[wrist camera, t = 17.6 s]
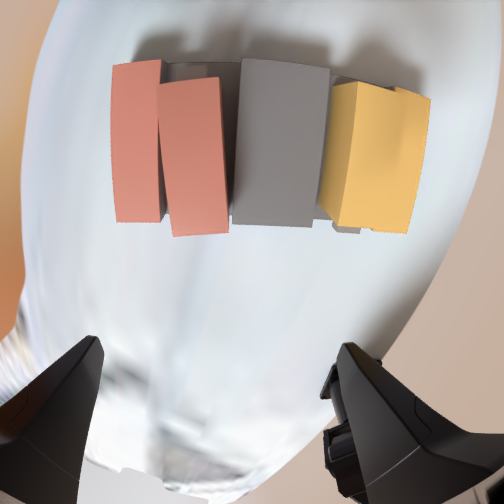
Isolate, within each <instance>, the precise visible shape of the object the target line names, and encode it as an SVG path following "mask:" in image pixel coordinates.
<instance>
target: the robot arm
mask: <svg viewBox="0 0 504 504" xmlns="http://www.w3.org/2000/svg"><path fill="white" fill-rule="evenodd" d="M103 361H104V350H103V348H102V345H101V343H100V340H99V338H98V337H97V336H91V335H88V336H86V337H85V338H84V339H82V340H81V341H80V342H79V343H77V344H76V345H75V346H74V347H72V348H71V349H70V350H69V351H67V352H66V353H65V354H64V355H63V356H61V357H60V358H59V359H58V360H57V361H55V362H54V363H53V364H52V365H51V366H49V367H48V368H47V369H46V370H45V371H43V372H42V373H41V374H40V375H39V376H37V377H36V378H35V379H34V380H33V381H32V382H30V383H29V384H28V386H26V387H24V388H23V389H22V390H21V391H20V392H19V393H17V394H16V395H15V396H14V397H13V398H11V399H10V400H9V401H7V402H6V403H5V404H3V405H2V406H0V504H77V495H78V488H79V480H80V473H81V467H82V461H83V456H84V450H85V445H86V440H87V436H88V431H89V427H90V422H91V418H92V414H93V410H94V406H95V402H96V398H97V394H98V390H99V384H100V378H101V372H102V366H103ZM320 399H332V403H333V406H334V409H335V413H336V416H337V420H338V423H339V425H338V426H335V427H333V428H331V429H326V430H324V431H323V432H324V437H323V440H324V454H325V467H326V469H328V470H329V471H330V473H331V475H332V476H333V477H334V478H336V481H337V486H338V491H339V492H340V493H341V494H342V495H343V496H344V497H345V498H348V497H350V498H351V499H353V500H354V501H355V502H357V503H358V504H504V434H485V433H470V432H467V431H465V430H463V429H461V428H459V427H458V426H456V425H455V424H454V423H452V422H451V421H449V420H448V419H446V418H445V417H443V416H442V415H440V414H439V413H437V412H436V411H434V410H433V409H432V408H431V407H429V406H428V405H427V404H426V403H424V402H423V401H422V400H421V399H420V398H418V397H417V396H415V394H414V393H412V392H411V391H410V390H409V389H408V388H407V387H405V386H404V385H403V384H402V383H401V382H400V381H398V380H397V379H396V378H395V377H394V376H393V375H391V374H390V373H389V372H388V371H387V370H385V369H384V368H383V367H382V361H381V360H374V359H373V358H371V357H370V356H369V355H368V354H367V353H366V352H364V351H363V350H362V349H361V348H360V347H359V346H357V345H356V344H355V343H353V342H347V343H343V344H342V346H341V348H340V351H339V353H338V356H337V365H336V366H333V367H332V368H331V371H330V373H329V375H328V378H327V380H326V382H325V385H324V387H323V389H322V392H321V394H320Z"/></svg>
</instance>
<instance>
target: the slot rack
mask: <svg viewBox="0 0 504 504" xmlns="http://www.w3.org/2000/svg"><path fill="white" fill-rule="evenodd" d="M197 65H206V66H207V68H208V78H212V77H219V79H220V82H221V84H222V96H223V115H224V133H225V150H226V166H227V181H228V196H229V215H232V224H240V225H267V226H290V227H310V228H312V223H313V219H323V220H332V219H331V218H330V216H329V215H328V214H327V213H326V212H325V211H324V210H323V208H322V207H321V206H320V205H319V204H318V200H319V193H320V186H321V180H322V172H323V165H324V158H325V150H326V142H327V133H328V124H329V115H330V105H331V95H332V87H333V86H337V85H342V84H346V83H351V82H356V81H359V80H355V79H351V78H347V77H342V76H338V75H333V74H330V69H328V68H322V67H317V66H311V65H305V64H299V63H292V62H284V61H275V60H265V59H253V58H242V61H241V63H232V62H188V63H169V64H167V63H166V62H164V61H163V60H162V59H157V60H147V61H139V62H131V63H124V64H118V65H113V71H112V86H111V163H112V180H113V192H114V203H115V213H116V221H117V222H149V223H160V222H161V220H162V219H163V217H164V215H165V214H169V208H168V201H167V194H166V187H165V179H164V171H163V163H162V154H161V144H160V134H159V122H158V110H157V94H156V85H158V84H164V83H171V82H176V71H175V68H182V67H189V66H197ZM359 82H363V81H359ZM363 83H367V82H363ZM367 84H370V85H374V84H371V83H367ZM374 86H377V87H381V86H378V85H374ZM381 88H384V89H387V90H391V91H394V92H397V93H400V94H403V95H406V100H405V111H404V119H403V128H402V135H401V142H400V149H399V155H398V161H397V167H396V172H395V177H394V183H393V188H392V192H391V197H390V202H389V206H388V210H387V215H386V219H385V223H384V227H383V229H371V228H370V229H371V230H372V231H377V232H391V233H404V234H407V231H408V227H409V223H410V219H411V215H412V211H413V207H414V203H415V199H416V194H417V190H418V185H419V180H420V175H421V170H422V164H423V158H424V152H425V146H426V139H427V131H428V123H429V114H430V103H431V99H429V98H427V97H424V96H422V95H419V94H416V93H414V92H411V91H408V90H405V89H402V88H399V87H396V86H394V87H381Z"/></svg>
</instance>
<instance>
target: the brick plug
mask: <svg viewBox="0 0 504 504" xmlns="http://www.w3.org/2000/svg"><path fill="white" fill-rule="evenodd" d="M175 71H176V82H171V83H164V84H158V85H156V94H157V110H158V122H159V134H160V144H161V154H162V163H163V171H164V179H165V187H166V194H167V201H168V208H169V215H170V221H171V227H172V234H173V237H177V236H191V235H205V234H219V233H229V196H228V181H227V166H226V150H225V133H224V115H223V96H222V84H221V82H220V79H219V77H212V78H208V68H207V66H206V65H197V66H189V67H182V68H175Z"/></svg>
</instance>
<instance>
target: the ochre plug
mask: <svg viewBox="0 0 504 504" xmlns="http://www.w3.org/2000/svg"><path fill="white" fill-rule="evenodd" d="M405 100H406V95H403V94H400V93H397V92H394V91H391V90H387V89H384V88H381V87H377V86H374V85H370V84H367V83H363V82H359V81H356V82H351V83H346V84H342V85H337V86H333V87H332V95H331V105H330V115H329V124H328V133H327V142H326V150H325V158H324V165H323V172H322V180H321V186H320V193H319V200H318V204H319V205H320V206H321V207H322V208H323V210H324V211H325V212H326V213H327V214H328V215H329V216H330V218H331V219H332V220H333V223H332V227H333V228H334V229H335V230H336V232H341V233H357V234H360V230H361V228H371V229H383V227H384V223H385V219H386V215H387V210H388V206H389V202H390V197H391V192H392V188H393V183H394V177H395V172H396V167H397V161H398V155H399V149H400V142H401V135H402V128H403V119H404V111H405Z"/></svg>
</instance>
